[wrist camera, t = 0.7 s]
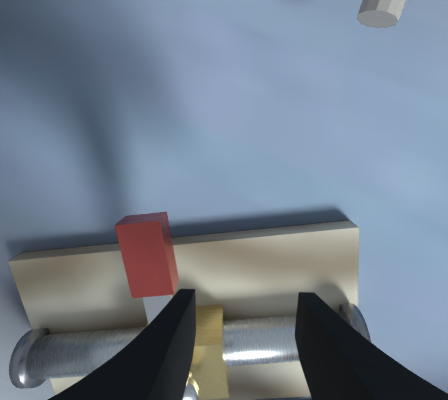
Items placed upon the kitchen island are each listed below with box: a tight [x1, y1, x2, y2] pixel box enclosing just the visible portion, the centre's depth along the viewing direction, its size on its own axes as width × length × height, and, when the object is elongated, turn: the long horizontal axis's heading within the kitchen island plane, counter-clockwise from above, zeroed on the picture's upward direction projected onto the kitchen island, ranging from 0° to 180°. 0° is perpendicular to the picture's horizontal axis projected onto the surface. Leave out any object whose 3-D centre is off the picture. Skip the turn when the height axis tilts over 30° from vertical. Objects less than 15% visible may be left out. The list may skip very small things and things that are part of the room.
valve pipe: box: [9, 303, 371, 400], centre depth 20 cm, size 4×25×6 cm, turn 97°
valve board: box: [8, 220, 359, 400], centre depth 23 cm, size 15×26×2 cm, turn 97°
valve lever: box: [115, 212, 199, 400], centre depth 15 cm, size 13×2×1 cm, turn 7°
